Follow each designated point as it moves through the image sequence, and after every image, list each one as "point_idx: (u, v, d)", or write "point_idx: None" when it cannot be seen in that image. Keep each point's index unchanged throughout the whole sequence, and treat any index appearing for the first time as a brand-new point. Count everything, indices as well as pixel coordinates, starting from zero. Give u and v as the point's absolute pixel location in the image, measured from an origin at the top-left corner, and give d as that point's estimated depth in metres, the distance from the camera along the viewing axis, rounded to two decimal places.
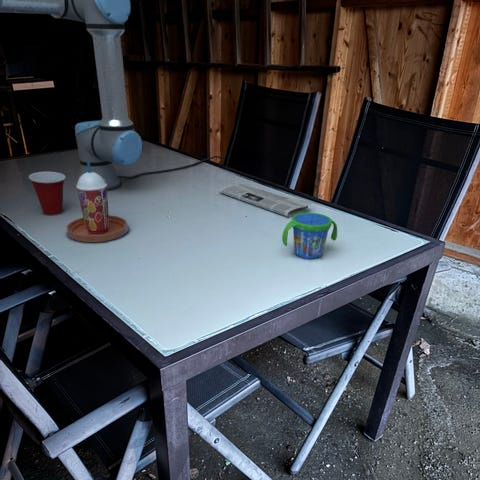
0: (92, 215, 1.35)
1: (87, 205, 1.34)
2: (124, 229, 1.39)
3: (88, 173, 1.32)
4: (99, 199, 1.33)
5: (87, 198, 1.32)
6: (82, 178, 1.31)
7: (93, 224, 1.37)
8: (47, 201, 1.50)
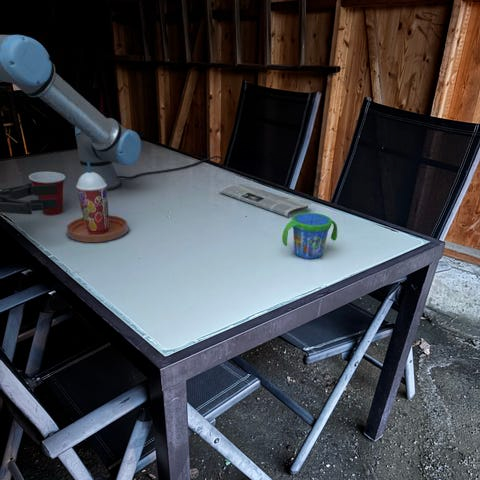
0: (92, 215, 1.35)
1: (87, 205, 1.34)
2: (124, 229, 1.39)
3: (88, 173, 1.32)
4: (99, 199, 1.33)
5: (87, 198, 1.32)
6: (82, 178, 1.31)
7: (93, 224, 1.37)
8: None
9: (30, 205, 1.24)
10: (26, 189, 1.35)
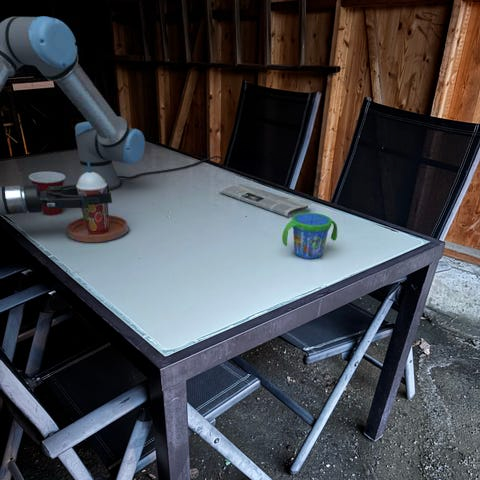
0: (92, 215, 1.35)
1: None
2: (124, 229, 1.39)
3: (88, 173, 1.32)
4: None
5: None
6: (82, 178, 1.31)
7: (93, 224, 1.37)
8: None
9: (87, 199, 1.30)
10: None
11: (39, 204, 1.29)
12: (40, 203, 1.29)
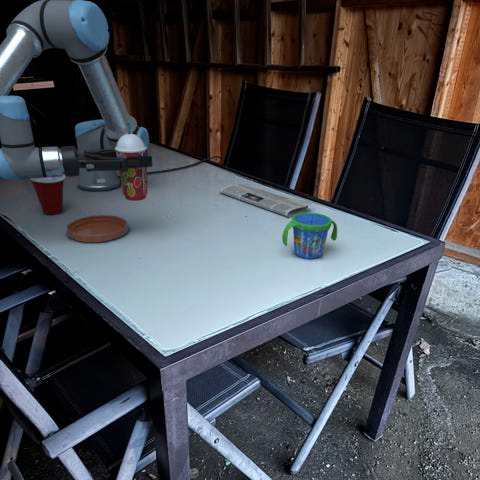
0: (131, 180, 1.28)
1: None
2: (124, 229, 1.39)
3: (128, 134, 1.25)
4: None
5: None
6: (122, 139, 1.24)
7: (132, 190, 1.30)
8: (47, 201, 1.50)
9: (127, 162, 1.23)
10: None
11: (77, 166, 1.22)
12: (78, 165, 1.22)
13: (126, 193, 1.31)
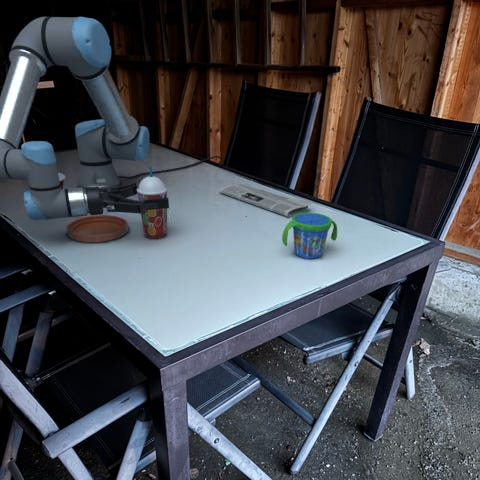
0: (152, 219, 1.34)
1: None
2: (124, 229, 1.39)
3: (150, 177, 1.30)
4: None
5: None
6: (144, 182, 1.30)
7: (153, 229, 1.35)
8: None
9: (145, 205, 1.26)
10: (132, 189, 1.37)
11: (101, 206, 1.28)
12: (102, 205, 1.27)
13: (147, 232, 1.37)
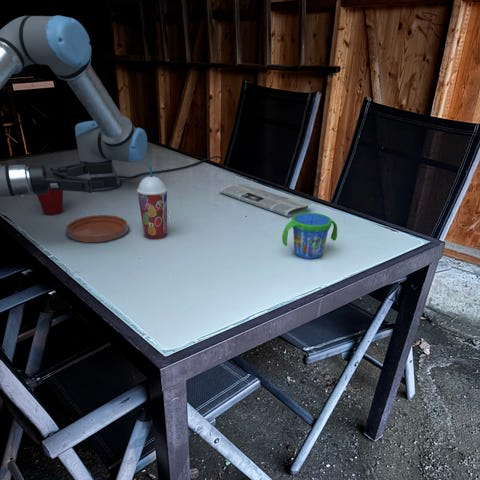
0: (152, 219, 1.34)
1: (148, 209, 1.32)
2: (124, 229, 1.39)
3: (150, 177, 1.30)
4: (160, 203, 1.32)
5: (148, 202, 1.31)
6: (144, 182, 1.30)
7: (153, 229, 1.35)
8: (47, 201, 1.50)
9: (91, 183, 1.19)
10: (81, 167, 1.30)
11: (45, 185, 1.21)
12: (46, 184, 1.20)
13: (147, 232, 1.37)
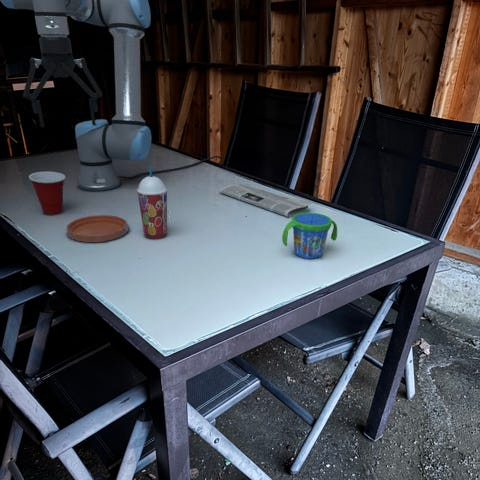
0: (152, 219, 1.34)
1: (148, 209, 1.32)
2: (124, 229, 1.39)
3: (150, 177, 1.30)
4: (160, 203, 1.32)
5: (148, 202, 1.31)
6: (144, 182, 1.30)
7: (153, 229, 1.35)
8: (47, 201, 1.50)
9: None
10: None
11: (71, 53, 1.23)
12: None
13: (147, 232, 1.37)
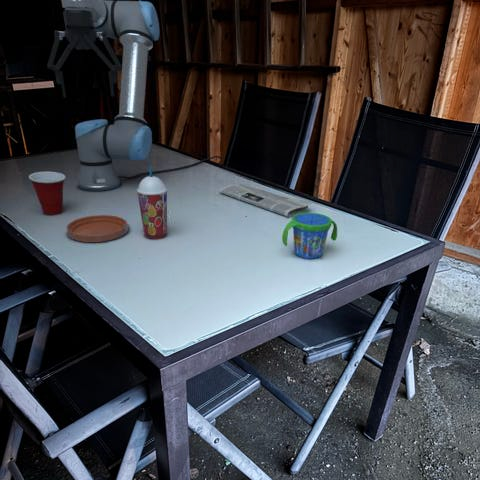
0: (152, 219, 1.34)
1: (148, 209, 1.32)
2: (124, 229, 1.39)
3: (150, 177, 1.30)
4: (160, 203, 1.32)
5: (148, 202, 1.31)
6: (144, 182, 1.30)
7: (153, 229, 1.35)
8: (47, 201, 1.50)
9: None
10: None
11: (93, 26, 1.30)
12: (93, 27, 1.30)
13: (147, 232, 1.37)
